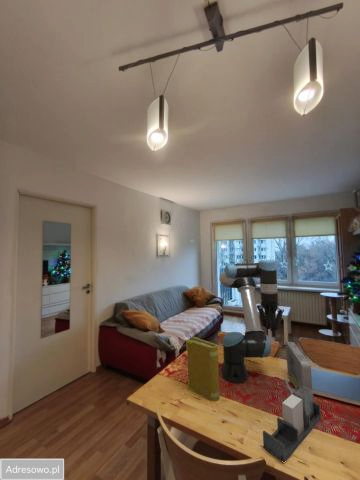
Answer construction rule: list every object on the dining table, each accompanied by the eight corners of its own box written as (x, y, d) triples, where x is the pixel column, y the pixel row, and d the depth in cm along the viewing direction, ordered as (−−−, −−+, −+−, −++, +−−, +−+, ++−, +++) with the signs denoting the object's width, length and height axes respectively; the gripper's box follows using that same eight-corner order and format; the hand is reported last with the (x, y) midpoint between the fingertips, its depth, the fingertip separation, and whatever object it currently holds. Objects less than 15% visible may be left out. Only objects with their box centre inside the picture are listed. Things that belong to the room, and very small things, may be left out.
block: (283, 432, 84) (282, 402, 84) (293, 422, 88) (291, 394, 89) (294, 439, 80) (292, 408, 81) (303, 428, 85) (302, 399, 86)
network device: (319, 411, 95) (316, 364, 96) (297, 409, 97) (295, 363, 98) (299, 378, 120) (297, 341, 121) (282, 376, 122) (280, 340, 123)
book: (187, 389, 113) (186, 340, 115) (195, 383, 118) (194, 336, 120) (214, 403, 102) (212, 349, 103) (222, 396, 106) (220, 344, 108)
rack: (263, 447, 78) (261, 414, 79) (301, 408, 97) (300, 382, 97) (284, 463, 72) (282, 427, 73) (320, 418, 91) (318, 390, 91)
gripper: (252, 291, 105) (254, 341, 103) (278, 295, 94) (281, 350, 93) (261, 289, 109) (263, 337, 108) (286, 293, 99) (289, 345, 97)
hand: (271, 343), depth 100 cm, fingers closed
